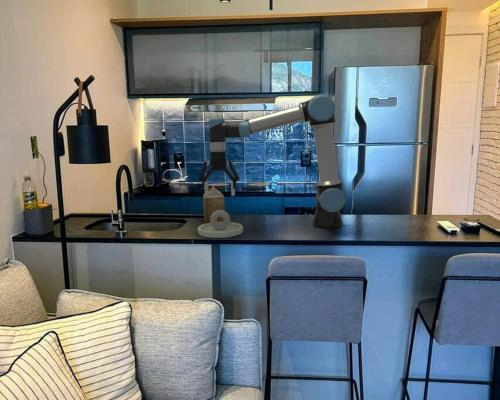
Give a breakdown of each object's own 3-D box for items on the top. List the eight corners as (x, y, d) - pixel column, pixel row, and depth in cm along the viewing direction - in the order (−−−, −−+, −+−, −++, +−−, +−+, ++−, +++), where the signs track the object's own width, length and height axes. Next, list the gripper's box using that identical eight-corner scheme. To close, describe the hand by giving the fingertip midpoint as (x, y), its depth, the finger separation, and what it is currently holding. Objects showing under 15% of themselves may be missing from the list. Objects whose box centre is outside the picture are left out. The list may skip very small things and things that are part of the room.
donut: (230, 229, 210) (230, 209, 208) (230, 230, 206) (230, 210, 204) (210, 229, 210) (210, 209, 208) (210, 231, 206) (209, 210, 204)
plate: (248, 227, 215) (247, 223, 215) (234, 239, 195) (234, 233, 194) (208, 225, 221) (208, 221, 221) (191, 236, 201) (190, 231, 201)
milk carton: (224, 222, 228) (223, 187, 225) (205, 223, 226) (203, 188, 223) (223, 218, 238) (222, 184, 235) (204, 219, 237) (202, 185, 233)
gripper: (245, 150, 201) (246, 194, 205) (196, 150, 208) (199, 193, 212) (240, 151, 194) (242, 197, 198) (190, 151, 201) (192, 195, 205)
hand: (219, 195), depth 205 cm, fingers open, 13 cm apart
